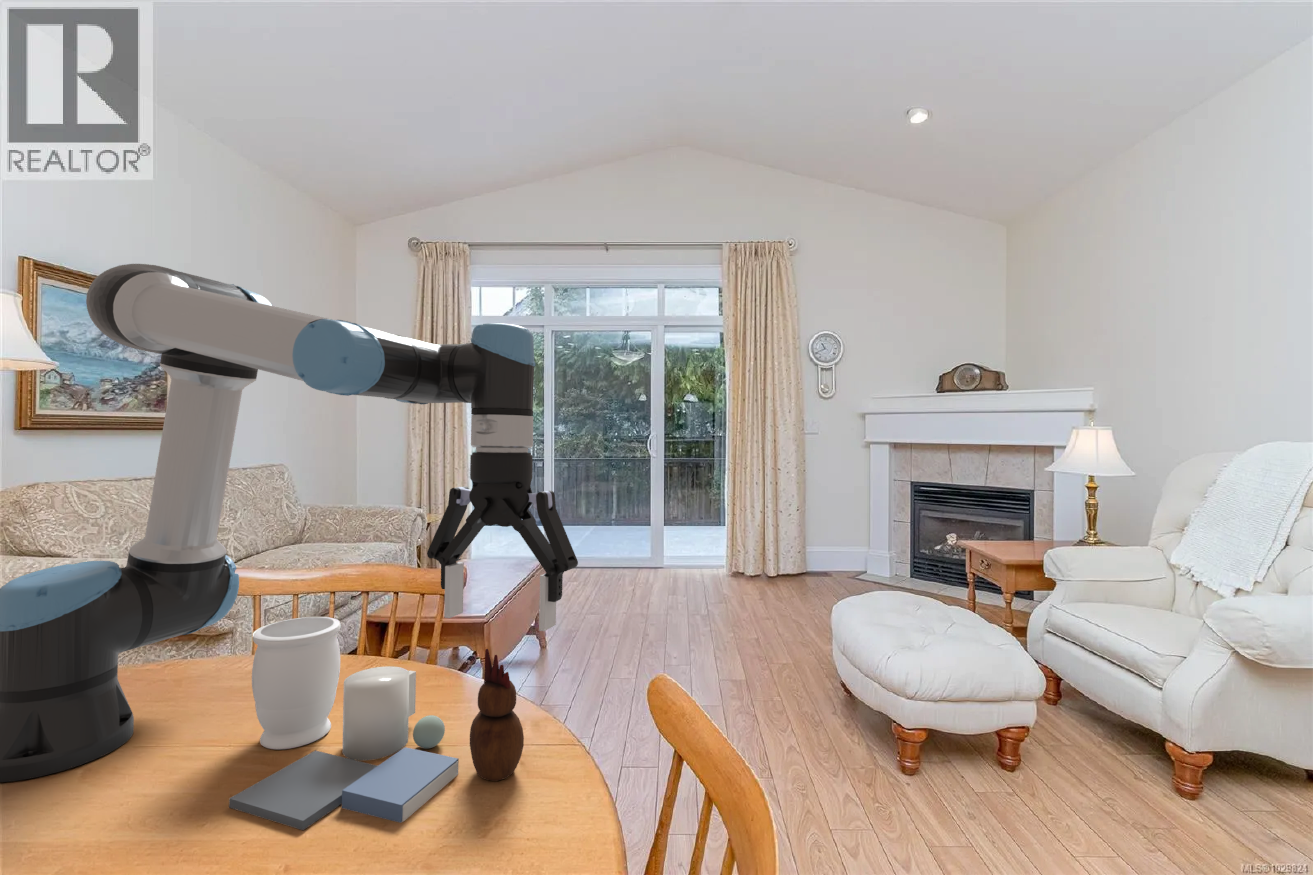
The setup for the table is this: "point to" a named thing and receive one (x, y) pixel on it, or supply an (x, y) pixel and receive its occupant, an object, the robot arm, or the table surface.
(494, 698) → the wooden figurine
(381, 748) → the mug
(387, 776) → the book
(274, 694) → the jar
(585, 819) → the table surface
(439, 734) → the ball
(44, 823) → the table surface
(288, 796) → the coaster
